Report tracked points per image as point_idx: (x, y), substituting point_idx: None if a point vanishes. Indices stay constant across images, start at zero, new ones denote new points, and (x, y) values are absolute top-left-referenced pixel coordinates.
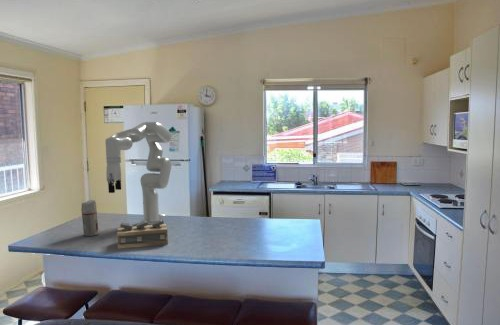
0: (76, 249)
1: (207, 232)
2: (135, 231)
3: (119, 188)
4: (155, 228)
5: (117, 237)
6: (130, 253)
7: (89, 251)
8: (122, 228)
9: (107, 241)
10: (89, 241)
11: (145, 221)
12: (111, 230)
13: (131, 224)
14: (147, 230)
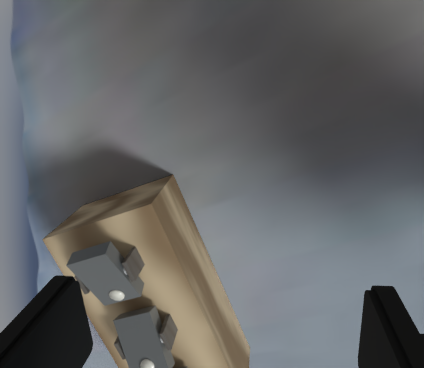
0: (31, 10)
1: None
2: (91, 310)
3: (365, 363)
4: None
5: (55, 229)
6: (44, 268)
7: (23, 96)
8: (133, 234)
9: (176, 113)
10: (165, 6)
11: (152, 365)
12: (411, 32)
13: (136, 292)
14: (117, 354)
